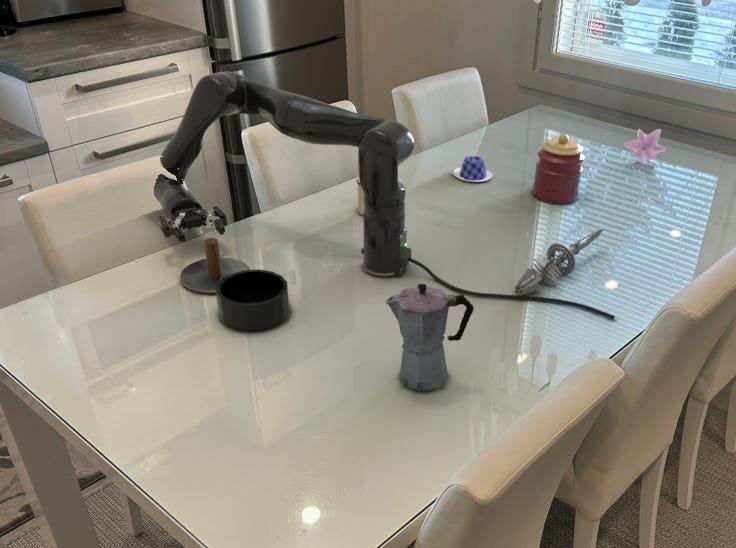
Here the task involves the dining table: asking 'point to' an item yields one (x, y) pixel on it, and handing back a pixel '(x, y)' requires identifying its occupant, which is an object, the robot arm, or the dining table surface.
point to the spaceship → (553, 264)
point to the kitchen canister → (558, 170)
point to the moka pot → (425, 333)
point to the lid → (210, 269)
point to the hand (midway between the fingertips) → (203, 234)
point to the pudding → (473, 170)
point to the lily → (646, 145)
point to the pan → (253, 300)
